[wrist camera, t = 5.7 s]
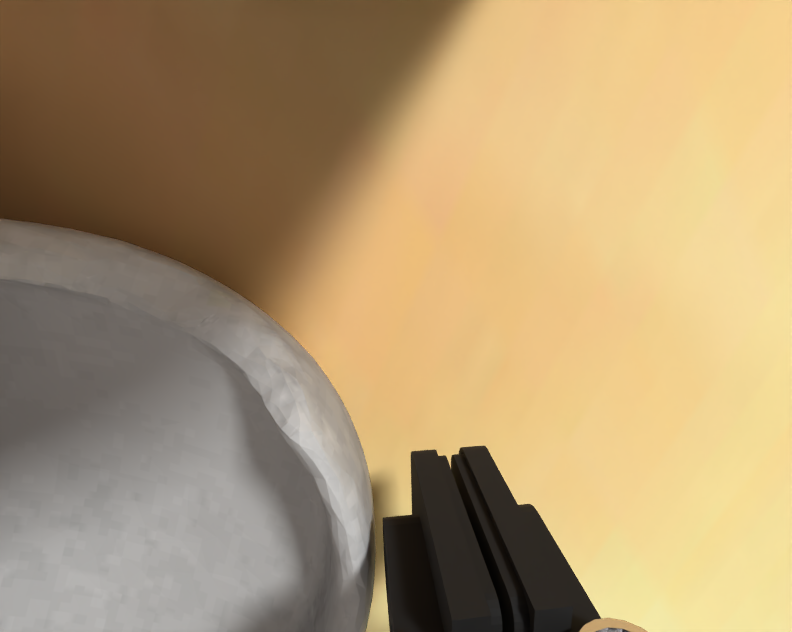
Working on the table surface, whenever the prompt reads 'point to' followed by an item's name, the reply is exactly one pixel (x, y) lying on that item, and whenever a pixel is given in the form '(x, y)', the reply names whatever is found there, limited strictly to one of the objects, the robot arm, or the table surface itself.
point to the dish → (167, 453)
